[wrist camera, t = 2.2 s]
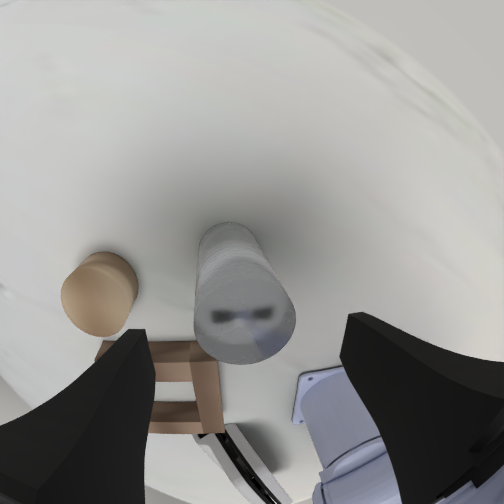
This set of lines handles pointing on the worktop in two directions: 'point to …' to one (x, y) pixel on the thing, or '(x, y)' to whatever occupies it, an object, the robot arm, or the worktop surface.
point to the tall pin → (239, 299)
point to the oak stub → (100, 294)
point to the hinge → (243, 466)
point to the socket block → (184, 370)
